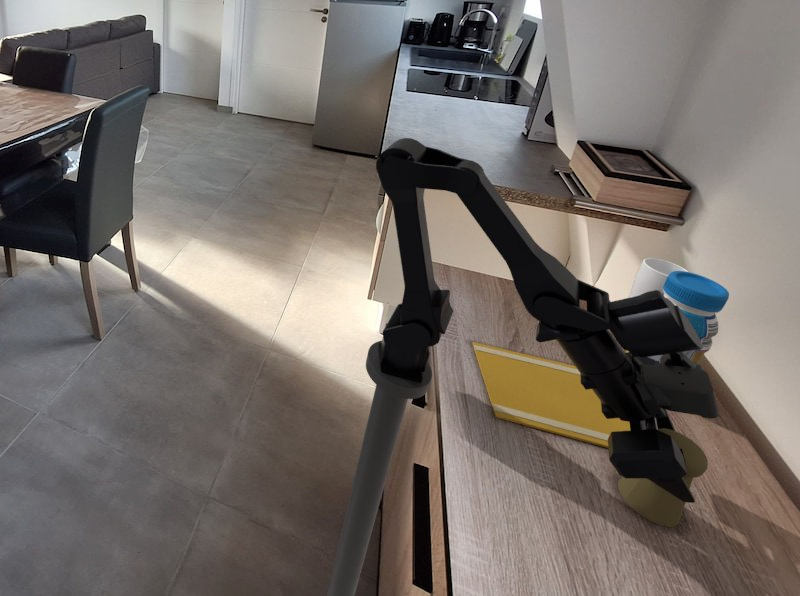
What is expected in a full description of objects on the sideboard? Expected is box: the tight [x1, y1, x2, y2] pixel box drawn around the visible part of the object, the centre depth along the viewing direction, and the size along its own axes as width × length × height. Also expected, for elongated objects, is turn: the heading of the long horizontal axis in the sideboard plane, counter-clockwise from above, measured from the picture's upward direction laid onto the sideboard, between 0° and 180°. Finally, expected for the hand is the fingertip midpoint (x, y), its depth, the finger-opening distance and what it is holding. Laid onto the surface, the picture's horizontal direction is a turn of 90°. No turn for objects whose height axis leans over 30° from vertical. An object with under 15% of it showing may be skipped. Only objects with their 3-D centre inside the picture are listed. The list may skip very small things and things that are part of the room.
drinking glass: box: [627, 257, 690, 298], centre depth 86 cm, size 7×7×15 cm
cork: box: [617, 428, 709, 528], centre depth 57 cm, size 6×6×11 cm
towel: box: [471, 341, 631, 449], centre depth 74 cm, size 20×16×1 cm
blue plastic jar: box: [624, 271, 730, 367], centre depth 75 cm, size 8×8×20 cm
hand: (683, 473), depth 56 cm, fingers open, 8 cm apart
